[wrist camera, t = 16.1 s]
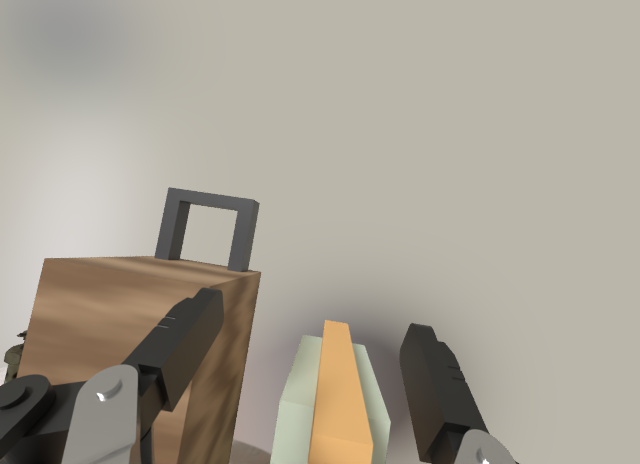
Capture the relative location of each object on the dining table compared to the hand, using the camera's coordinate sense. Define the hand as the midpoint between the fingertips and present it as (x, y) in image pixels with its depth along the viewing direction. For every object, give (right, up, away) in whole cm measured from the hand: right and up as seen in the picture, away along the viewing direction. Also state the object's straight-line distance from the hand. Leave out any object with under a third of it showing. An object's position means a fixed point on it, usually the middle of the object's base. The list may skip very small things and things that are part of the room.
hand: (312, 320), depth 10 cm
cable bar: (+2, -13, +15) cm, 20 cm away
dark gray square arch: (-12, 0, +16) cm, 21 cm away
